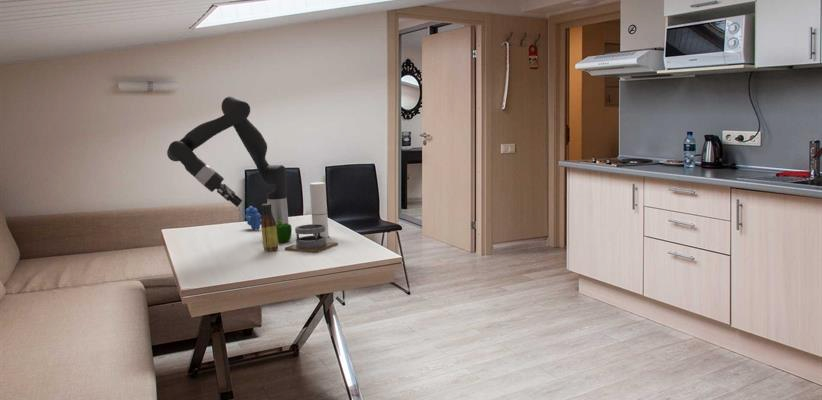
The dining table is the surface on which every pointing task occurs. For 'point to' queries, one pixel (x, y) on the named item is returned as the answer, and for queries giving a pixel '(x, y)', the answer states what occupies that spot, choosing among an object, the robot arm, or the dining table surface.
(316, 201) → the cylindrical container
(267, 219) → the sauce bottle
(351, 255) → the dining table surface
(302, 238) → the collar stand
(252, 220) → the grapes
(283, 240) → the bell pepper
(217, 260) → the dining table surface
